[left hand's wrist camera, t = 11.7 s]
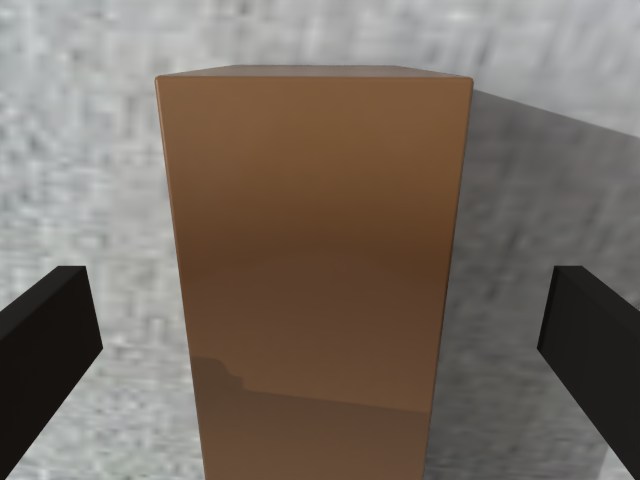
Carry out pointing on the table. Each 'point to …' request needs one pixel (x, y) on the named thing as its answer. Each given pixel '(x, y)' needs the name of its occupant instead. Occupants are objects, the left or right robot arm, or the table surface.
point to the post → (314, 260)
